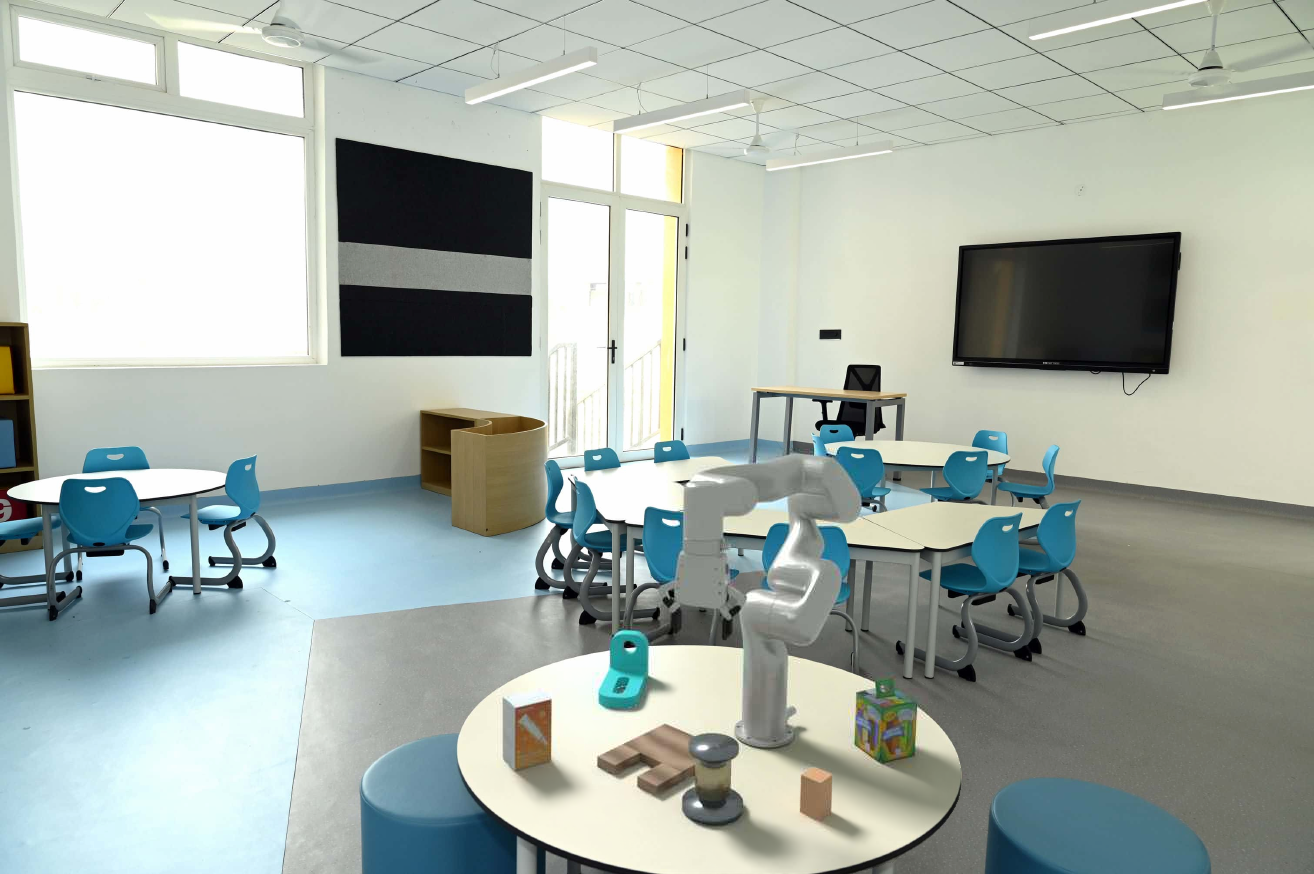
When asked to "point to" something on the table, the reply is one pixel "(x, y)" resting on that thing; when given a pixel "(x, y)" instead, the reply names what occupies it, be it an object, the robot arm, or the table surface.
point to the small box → (527, 728)
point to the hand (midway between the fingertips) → (701, 634)
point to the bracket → (625, 671)
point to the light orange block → (816, 793)
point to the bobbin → (713, 781)
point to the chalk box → (885, 722)
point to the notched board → (654, 758)
